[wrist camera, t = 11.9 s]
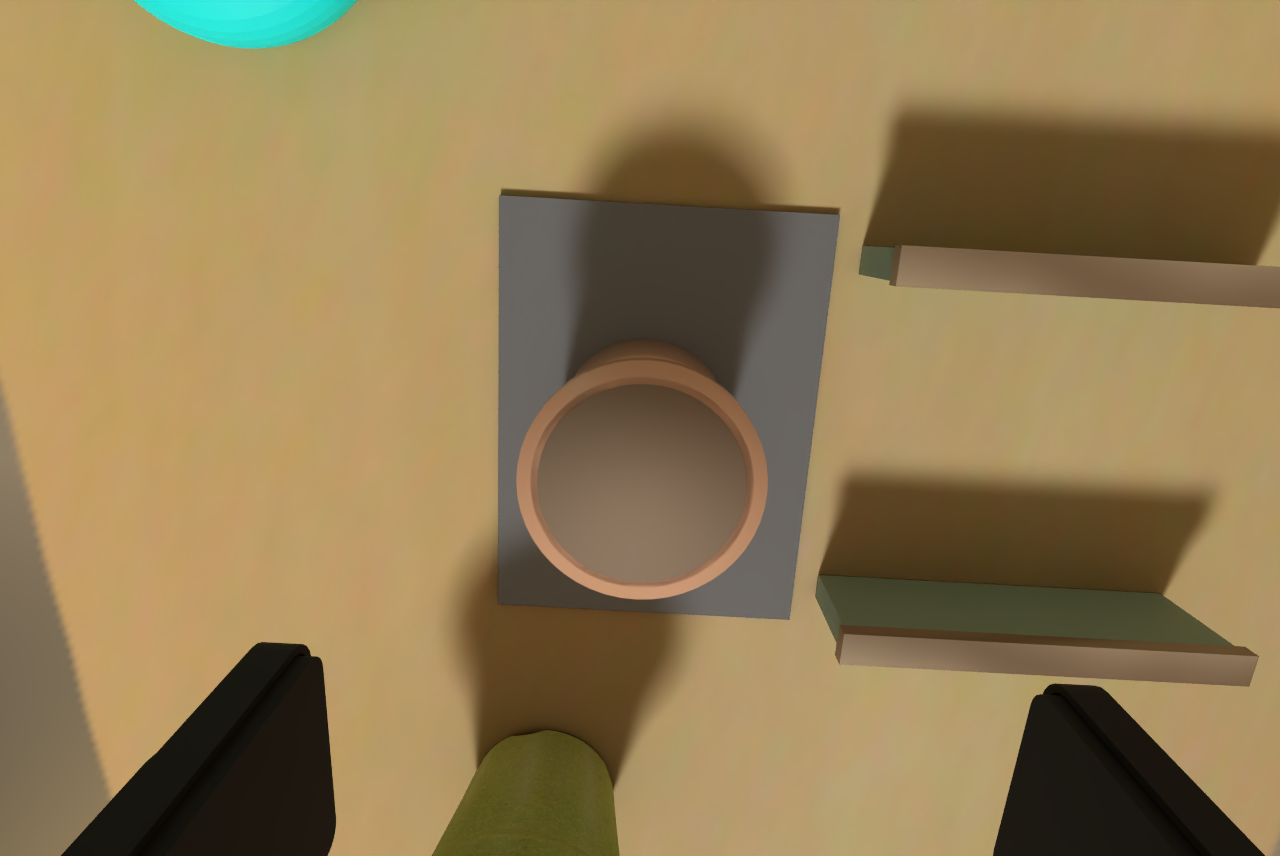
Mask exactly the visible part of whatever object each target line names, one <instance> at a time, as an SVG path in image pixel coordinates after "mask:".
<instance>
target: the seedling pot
mask: <svg viewBox="0 0 1280 856" xmlns="http://www.w3.org/2000/svg"><path fill="white" fill-rule="evenodd" d="M516 485H517V497H518V502H519V507H520V511H521V514H522V517H523V520H524V522H525V525H526V527H527V529H528V531H529V533H530V535H531V537H532V539H533V540H534V542H535V543H536V545H537V546H538V548H539V549H540V551H541V552H542V553H543V554H544V555H545V556H546V558H547V559H548V560H549V561H550V562H551V563H552V564H553V565H554V566H555V567H557V568H558V569H559V570H560V571H561V572H562V573H564V574H565V575H567V576H568V577H570V578H571V579H573V580H574V581H576V582H577V583H579V584H581V585H583V586H585V587H587V588H589V589H592V590H595V591H597V592H600V593H603V594H606V595H610V596H615V597H619V598H627V599H636V600H639V599H659V598H666V597H671V596H675V595H679V594H683V593H685V592H688V591H691V590H693V589H696V588H698V587H700V586H702V585H704V584H706V583H707V582H709V581H711V580H713V579H714V578H715V577H717V576H718V575H720V574H721V573H723V572H724V571H725V570H726V569H727V568H728V567H729V566H731V565H732V564H733V563H734V562H735V561H736V560H737V559H738V557H739V556H740V555H741V554H742V553H743V552H744V550H745V549H746V548H747V546H748V544H749V543H750V541H751V540H752V538H753V537H754V535H755V533H756V530H757V528H758V526H759V524H760V522H761V519H762V515H763V512H764V509H765V504H766V498H767V491H768V473H767V464H766V459H765V455H764V451H763V447H762V444H761V442H760V439H759V437H758V435H757V432H756V430H755V428H754V426H753V424H752V423H751V421H750V419H749V417H748V416H747V414H746V412H745V411H744V409H743V408H742V407H741V405H740V404H739V403H738V402H737V400H736V399H735V398H734V397H733V396H732V395H731V394H730V393H729V392H728V391H727V390H726V389H725V388H724V387H723V386H721V385H720V384H719V383H718V381H717V380H716V378H715V376H714V375H713V374H712V372H711V371H710V370H709V368H708V367H707V366H706V365H705V364H704V363H703V362H702V361H701V360H700V359H698V358H697V357H696V356H694V355H693V354H692V353H690V352H688V351H687V350H685V349H683V348H681V347H679V346H676V345H674V344H671V343H668V342H664V341H660V340H652V339H635V340H628V341H623V342H620V343H616V344H613V345H611V346H609V347H606V348H604V349H603V350H601V351H599V352H598V353H596V354H594V355H593V356H592V357H591V358H589V359H588V360H587V361H586V362H585V363H584V364H583V365H582V366H581V367H580V368H579V369H578V370H577V372H576V373H575V375H574V376H573V377H572V379H570V380H569V381H568V382H567V383H565V384H564V385H563V386H562V387H560V388H559V389H558V390H557V391H556V392H555V393H554V394H553V395H552V396H551V397H550V398H549V399H548V400H547V402H546V403H545V404H544V406H543V407H542V408H541V410H540V411H539V413H538V414H537V416H536V417H535V419H534V421H533V423H532V424H531V426H530V428H529V430H528V432H527V434H526V436H525V439H524V442H523V444H522V447H521V450H520V455H519V459H518V464H517V476H516Z"/></svg>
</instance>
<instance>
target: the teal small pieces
mask: <svg viewBox="0 0 1280 856" xmlns="http://www.w3.org/2000/svg"><path fill="white" fill-rule="evenodd" d="M134 1H135V2H136V3H138V4H139V5H140V6H141V7H143V8H144V9H145V10H147V11H148V12H149V13H151V14H152V15H154V16H155V17H157V18H158V19H160V20H161V21H163V22H165V23H167V24H168V25H170V26H172V27H174V28H176V29H178V30H180V31H182V32H184V33H187V34H189V35H192V36H194V37H197V38H199V39H202V40H205V41H208V42H211V43H215V44H219V45H224V46H229V47H237V48H269V47H278V46H283V45H288V44H291V43H295V42H298V41H301V40H304V39H306V38H309V37H311V36H313V35H315V34H317V33H319V32H321V31H322V30H324V29H325V28H327V27H329V26H330V25H332V24H333V23H334V22H336V21H337V20H338V19H339V18H341V17H342V16H343V15H344V14H345V13H346V12H347V11H348V10H349V9H350V8H351V7H352V6H353V5H354V4H355V3H356V1H357V0H134Z"/></svg>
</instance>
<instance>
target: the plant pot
mask: <svg viewBox="0 0 1280 856" xmlns="http://www.w3.org/2000/svg"><path fill="white" fill-rule="evenodd" d="M432 856H619V847H618V837H617V828H616V817H615V806H614V795H613V787H612V782H611V779H610V776H609V773H608V770H607V768H606V765H605V763H604V762H603V760H602V759H601V757H600V756H599V755H598V754H597V753H596V752H595V751H594V750H593V749H592V748H591V747H590V746H588V745H587V744H586V743H584V742H583V741H581V740H579V739H577V738H575V737H573V736H570V735H568V734H565V733H561V732H557V731H550V730H544V731H540V732H537V733H533V734H528V735H520V736H510V737H508V738H506V739H504V740H502V741H501V742H499V743H498V744H497V745H495V746H494V747H493V748H492V749H491V750H490V751H489V752H488V753H487V755H486V756H485V757H484V759H483V761H482V762H481V764H480V766H479V768H478V770H477V771H476V773H475V775H474V777H473V779H472V781H471V783H470V785H469V787H468V789H467V791H466V793H465V795H464V797H463V799H462V800H461V802H460V804H459V806H458V808H457V810H456V812H455V814H454V816H453V817H452V819H451V821H450V823H449V825H448V827H447V829H446V830H445V832H444V834H443V836H442V838H441V840H440V842H439V843H438V845H437V847H436V849H435V851H434V853H433V854H432Z"/></svg>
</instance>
